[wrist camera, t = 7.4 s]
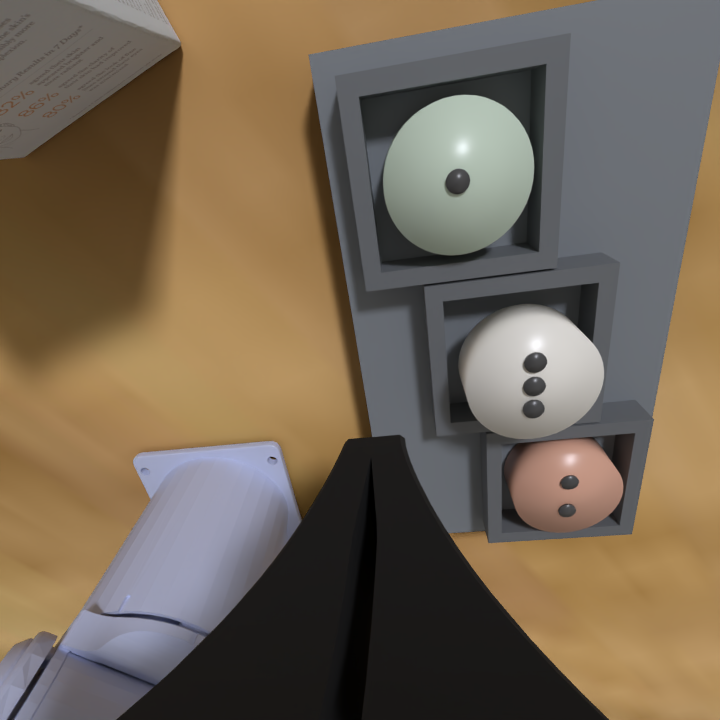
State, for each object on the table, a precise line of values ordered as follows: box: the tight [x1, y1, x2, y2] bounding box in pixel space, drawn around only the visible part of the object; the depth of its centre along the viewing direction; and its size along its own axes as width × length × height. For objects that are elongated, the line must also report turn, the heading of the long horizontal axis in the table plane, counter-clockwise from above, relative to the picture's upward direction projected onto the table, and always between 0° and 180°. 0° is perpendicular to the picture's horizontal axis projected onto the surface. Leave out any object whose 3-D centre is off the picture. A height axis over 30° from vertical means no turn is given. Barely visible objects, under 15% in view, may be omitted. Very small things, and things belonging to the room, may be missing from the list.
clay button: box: [504, 437, 623, 533], centre depth 19 cm, size 4×4×2 cm
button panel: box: [309, 0, 720, 543], centre depth 18 cm, size 21×12×3 cm, turn 8°
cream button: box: [458, 304, 604, 439], centre depth 15 cm, size 4×4×2 cm
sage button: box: [383, 95, 534, 255], centre depth 14 cm, size 4×4×2 cm
